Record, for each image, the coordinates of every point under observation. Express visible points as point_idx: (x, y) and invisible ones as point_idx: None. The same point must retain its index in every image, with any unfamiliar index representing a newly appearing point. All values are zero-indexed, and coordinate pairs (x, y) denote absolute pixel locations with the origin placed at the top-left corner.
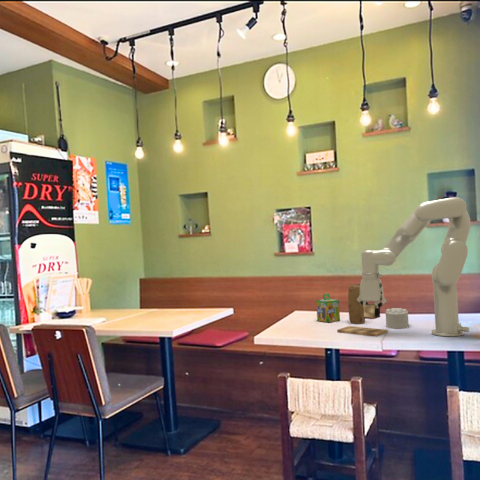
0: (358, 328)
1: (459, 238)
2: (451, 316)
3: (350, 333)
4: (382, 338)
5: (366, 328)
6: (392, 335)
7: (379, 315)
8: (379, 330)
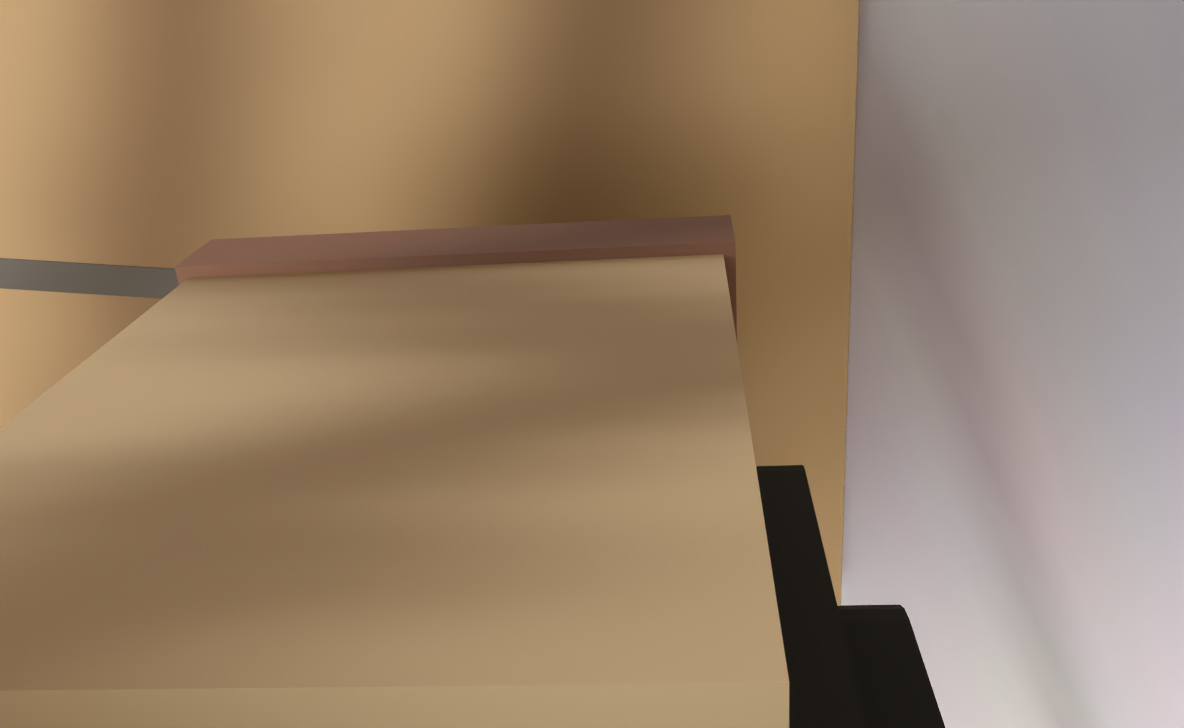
0: (10, 231)
1: None
2: None
3: None
4: (1044, 674)
5: (190, 108)
6: (1163, 272)
7: (802, 470)
8: (705, 194)
